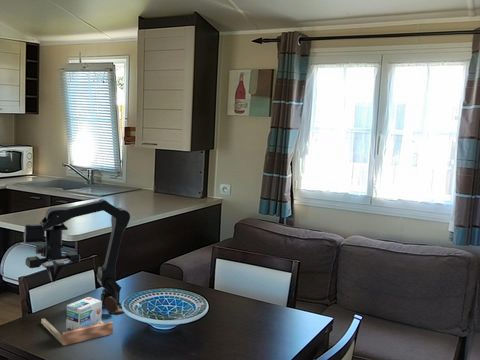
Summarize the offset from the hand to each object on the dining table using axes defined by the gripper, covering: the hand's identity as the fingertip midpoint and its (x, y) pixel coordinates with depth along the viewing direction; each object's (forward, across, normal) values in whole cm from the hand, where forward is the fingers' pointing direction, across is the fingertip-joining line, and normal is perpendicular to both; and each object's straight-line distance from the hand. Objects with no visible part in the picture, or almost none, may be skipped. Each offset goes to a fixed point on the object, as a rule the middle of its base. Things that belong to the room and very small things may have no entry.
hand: (52, 281), depth 185 cm
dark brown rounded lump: (+12, -20, +11) cm, 26 cm away
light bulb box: (+12, -3, +23) cm, 26 cm away
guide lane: (+12, -2, +18) cm, 22 cm away
